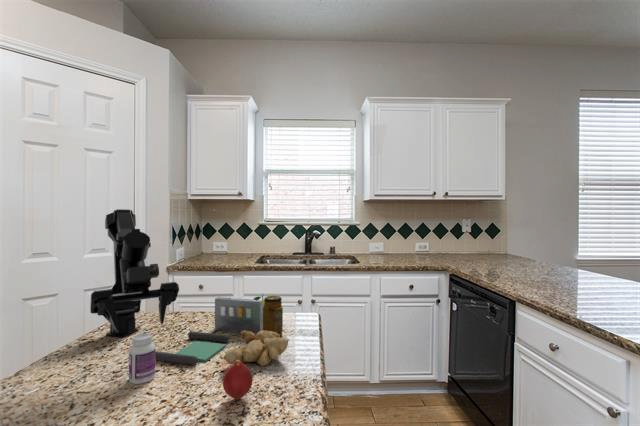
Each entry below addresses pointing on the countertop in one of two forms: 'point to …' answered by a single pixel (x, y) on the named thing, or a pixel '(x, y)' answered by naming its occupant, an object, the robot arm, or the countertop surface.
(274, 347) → the ginger root
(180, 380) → the countertop surface
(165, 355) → the dark grey rounded rod
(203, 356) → the pad
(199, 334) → the dark grey rod
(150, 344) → the pill bottle
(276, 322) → the condiment
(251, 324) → the gray printed box
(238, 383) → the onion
